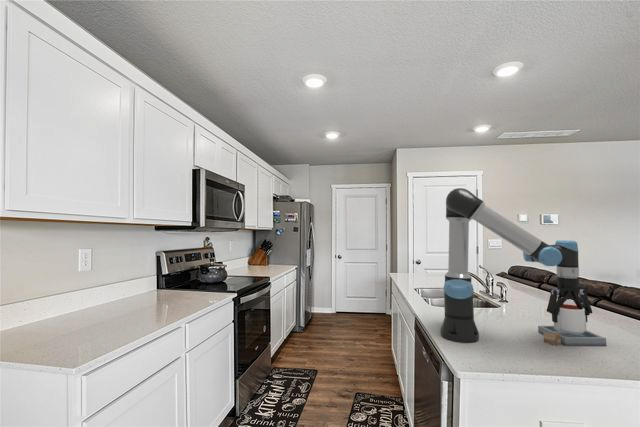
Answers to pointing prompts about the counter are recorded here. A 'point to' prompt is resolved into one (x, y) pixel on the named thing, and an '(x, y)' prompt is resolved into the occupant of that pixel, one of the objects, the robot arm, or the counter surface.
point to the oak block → (552, 338)
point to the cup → (572, 319)
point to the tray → (576, 337)
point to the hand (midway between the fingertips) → (570, 330)
